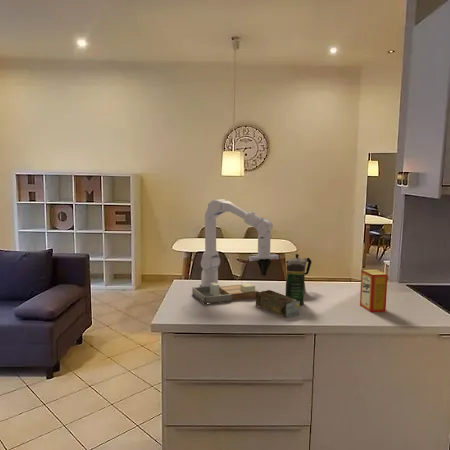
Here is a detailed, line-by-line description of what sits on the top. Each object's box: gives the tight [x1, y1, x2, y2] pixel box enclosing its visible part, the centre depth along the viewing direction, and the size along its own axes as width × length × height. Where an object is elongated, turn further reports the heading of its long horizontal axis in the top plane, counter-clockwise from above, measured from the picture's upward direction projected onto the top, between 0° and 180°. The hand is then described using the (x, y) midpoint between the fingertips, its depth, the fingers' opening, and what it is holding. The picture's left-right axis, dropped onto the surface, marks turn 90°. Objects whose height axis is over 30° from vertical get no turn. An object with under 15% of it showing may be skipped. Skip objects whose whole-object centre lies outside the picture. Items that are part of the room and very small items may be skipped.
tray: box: [191, 286, 232, 305], centre depth 190 cm, size 17×12×3 cm
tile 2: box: [240, 283, 256, 292], centre depth 192 cm, size 5×5×2 cm
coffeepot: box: [285, 253, 312, 293], centre depth 204 cm, size 15×9×18 cm, turn 118°
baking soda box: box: [359, 269, 388, 313], centre depth 176 cm, size 10×6×16 cm
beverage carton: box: [255, 289, 301, 318], centre depth 173 cm, size 8×19×7 cm, turn 35°
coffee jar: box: [285, 260, 306, 306], centre depth 182 cm, size 10×8×19 cm
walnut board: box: [219, 284, 260, 302], centre depth 195 cm, size 14×14×3 cm
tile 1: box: [210, 282, 220, 296], centre depth 193 cm, size 5×5×2 cm
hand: (263, 275), depth 194 cm, fingers closed
